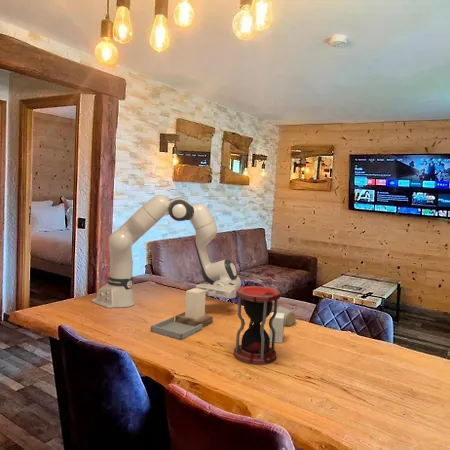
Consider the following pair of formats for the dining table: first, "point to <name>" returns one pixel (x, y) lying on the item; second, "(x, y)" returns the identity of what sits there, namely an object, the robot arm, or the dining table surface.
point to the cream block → (195, 303)
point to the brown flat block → (194, 320)
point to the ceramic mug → (287, 315)
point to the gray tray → (175, 329)
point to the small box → (278, 327)
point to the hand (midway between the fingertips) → (206, 294)
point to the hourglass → (256, 325)
